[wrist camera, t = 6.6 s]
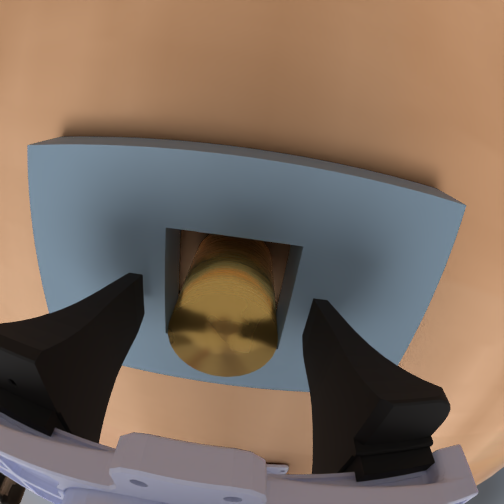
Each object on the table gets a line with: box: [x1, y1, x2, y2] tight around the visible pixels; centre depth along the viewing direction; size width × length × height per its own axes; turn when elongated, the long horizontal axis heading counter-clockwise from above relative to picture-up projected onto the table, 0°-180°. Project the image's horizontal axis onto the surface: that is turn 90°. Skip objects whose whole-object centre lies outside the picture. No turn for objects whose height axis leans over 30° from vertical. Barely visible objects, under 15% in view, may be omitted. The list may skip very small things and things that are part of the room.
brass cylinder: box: [168, 234, 278, 377], centre depth 14 cm, size 4×4×6 cm
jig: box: [28, 136, 466, 392], centre depth 15 cm, size 12×20×3 cm, turn 82°
